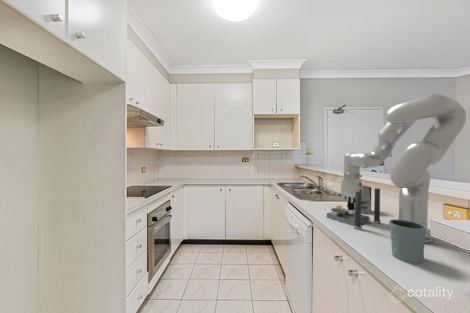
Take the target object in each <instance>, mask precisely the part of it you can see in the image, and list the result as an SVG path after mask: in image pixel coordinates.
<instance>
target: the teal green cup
mask: <svg viewBox="0 0 470 313" xmlns="http://www.w3.org/2000/svg"><path fill="white" fill-rule="evenodd" d="M388 224H389V231H390V240H391V254H392V257H394V258H395V259H397V260H399V261H401V260H402V262H404V261H405V263H408V262H409V263H408V264H413V263H415V264H416V265H418V264H417V263H421V264H423V263H424V259H425V258H424V257H425V253H424V252H425V251H424V250H425V243H424V242H425V233H426V226H424V225H423V224H420V223H417V222H413V221H407V220H399V219H391V220H389V222H388ZM415 264H414V265H415Z"/></svg>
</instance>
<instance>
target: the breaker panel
mask: <svg viewBox="0 0 470 313" xmlns="http://www.w3.org/2000/svg"><path fill="white" fill-rule="evenodd" d="M345 206H346V207H348V205H345ZM354 210H355V206H354ZM326 218H328V219H330V220H333V221H337V222H339V223H344V224H346V225H350V226H353V227H354V225H355V213H354V214H350V213H348V211H345V210H341V209H337V207H333V208H332V207H331V212H326ZM370 221H371V217H370V216H368V215H363V214H361V225H363V224H366V223H369V222H370Z"/></svg>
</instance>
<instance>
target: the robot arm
mask: <svg viewBox="0 0 470 313" xmlns="http://www.w3.org/2000/svg"><path fill="white" fill-rule="evenodd" d="M385 114H386V115H385V117H386V120H387V121H386V123H385V124H384V125H383V127H382V128H380V130H379V131H378V132H377V137H378V142H377V145H376V146H375V148H374V149H372V151H371V152H362V153H356V152H355V153H354V152H352V153H351V152H350V153H348V152H347V153H345V154H344V160H343V177H342V180H341V186H340V194H341V198H343V199H345V201H346V203H347V206H348V210H354V207H355V191H360V192H361V197H363V186H362V185H363V180H362V179H361V178H362V177H363V175H362V174H361V172H360V171H361V168H362V169H369V168H377V167H378V166H380V165H382V163H384V161H385V160H386V159H387V158H388V157H389V156H390V154H391V153H392V152H393V150H394V148H395V145H396V143H397V142H398V141H399V140H400V139H401V138H402V137H403V135H404V134H406V133H407V132H408V130H409V129H410V128H411V127H412V126H413V125H414V124H415V123H416V121H418V120H423V119H428V118H432V119H435V122H434V124H432V126H430V128H429V129H428V130H427V132H426V134H425V135H424V137H423V138H422V140H420V141H417V142H413V143H411V144H409V145H408V146H407V147H406V148H404V149H405V150H404V151H403V152H402V154H401V156H400V157H399V158H398V160H397V162H396V163H395V165H394V167H393V169H392V170H391V172H390V180H391V182H392V183H393V185H394V186H396V187H398V188H399V193H398V195H399V196H398V220H407V221H413V222H417V223H420V224H423V225H424V226H426V233H425V242H424V244H430V243H432V242H433V241H437V242H441V239H442V238H441V239H439V238H436V237H433V236H431V234H430V232H431V229H429V228H428V214H429V213H428V212H429V210H428V207H429V206H428V204H429V190H430V183H431V176H430V175H431V174H430V172H429V170H427V169H428V168H430V167H429V166H431V165H435V164H437V163H439V162H440V161H441V160H443V157H444V156H445V155H446V153H447V152H448V151H449V149H450V147H451V146H452V145H453V144H454V141H455V140H456V138H457V137H458V136H459V134H460V133H461V132H462V130H463V128H464V126H465V124H466V121H467V114H466V110H465V108H464V107H463V106H462V104H460V103H459V102H458V101H457V100H455V99H453V98H451V97H449V96H445V95H443V94H440V93H439V94H438V93H435V94H427V95H424V96H421V97H418V98H414V99H411V100H408V101H404V102H401V103H398V104H395V105H393V106H391V107H390V108H389V109H388V110H387V112H386V113H385ZM361 200H362V199H361Z"/></svg>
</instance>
